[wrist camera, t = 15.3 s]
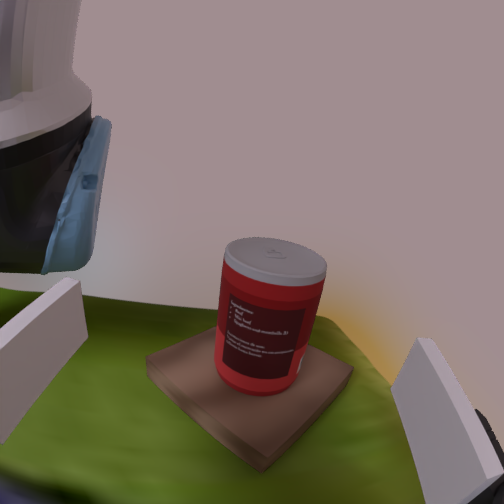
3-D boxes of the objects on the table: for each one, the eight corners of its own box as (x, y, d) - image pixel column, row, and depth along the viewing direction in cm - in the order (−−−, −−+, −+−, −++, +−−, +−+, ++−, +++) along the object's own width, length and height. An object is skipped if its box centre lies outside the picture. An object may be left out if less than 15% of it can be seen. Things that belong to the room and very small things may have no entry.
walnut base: (147, 376, 26) (145, 356, 25) (245, 328, 36) (247, 311, 35) (261, 473, 18) (267, 457, 17) (346, 385, 28) (354, 367, 27)
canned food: (270, 336, 31) (290, 235, 27) (314, 385, 25) (350, 272, 21) (200, 348, 28) (209, 237, 24) (234, 409, 21) (255, 281, 17)
